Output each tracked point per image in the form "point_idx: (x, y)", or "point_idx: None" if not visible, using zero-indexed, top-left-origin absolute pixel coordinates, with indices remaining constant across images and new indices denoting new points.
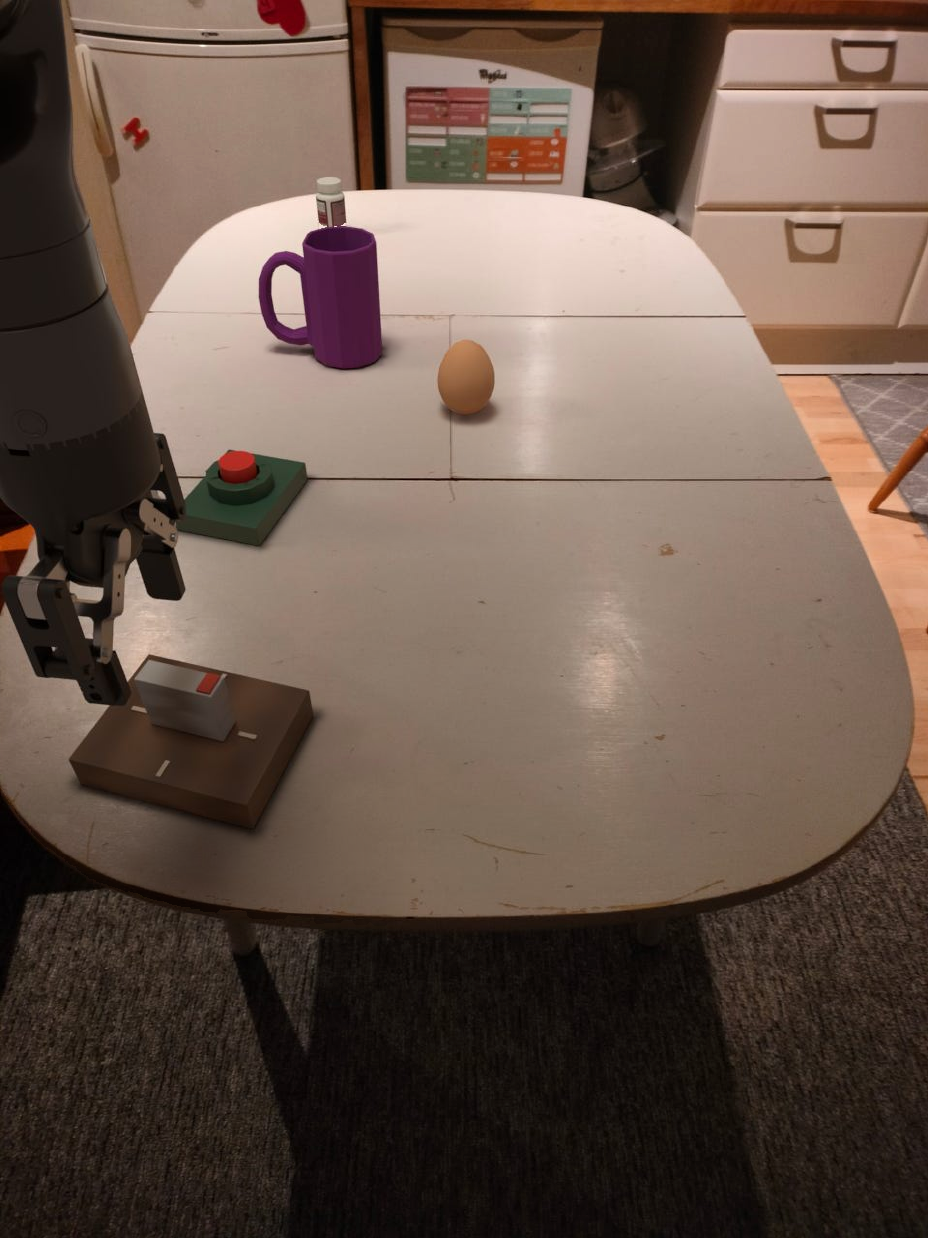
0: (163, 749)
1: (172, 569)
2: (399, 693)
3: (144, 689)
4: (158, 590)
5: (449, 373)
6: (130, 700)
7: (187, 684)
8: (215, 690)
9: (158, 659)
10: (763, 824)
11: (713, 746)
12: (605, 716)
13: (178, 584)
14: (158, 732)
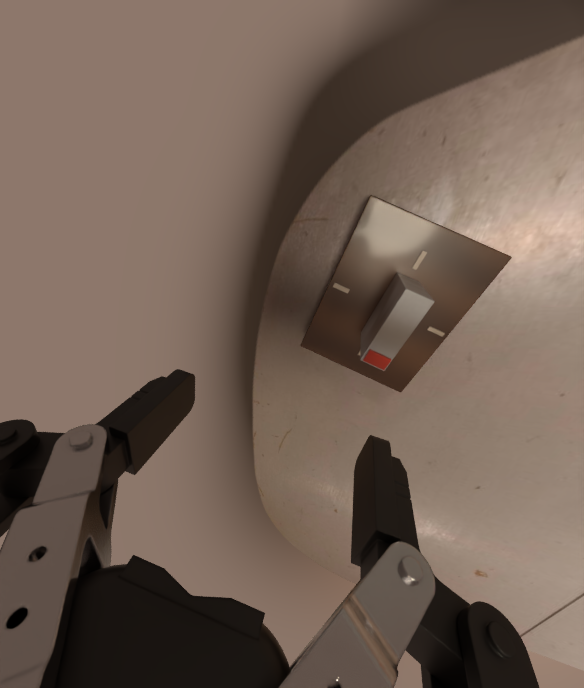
0: (363, 286)
1: (353, 523)
2: (402, 425)
3: (398, 292)
4: (365, 458)
5: None
6: (437, 247)
7: (382, 341)
8: (368, 363)
9: (496, 269)
10: (286, 516)
11: (326, 522)
12: None
13: (353, 493)
14: (384, 280)
